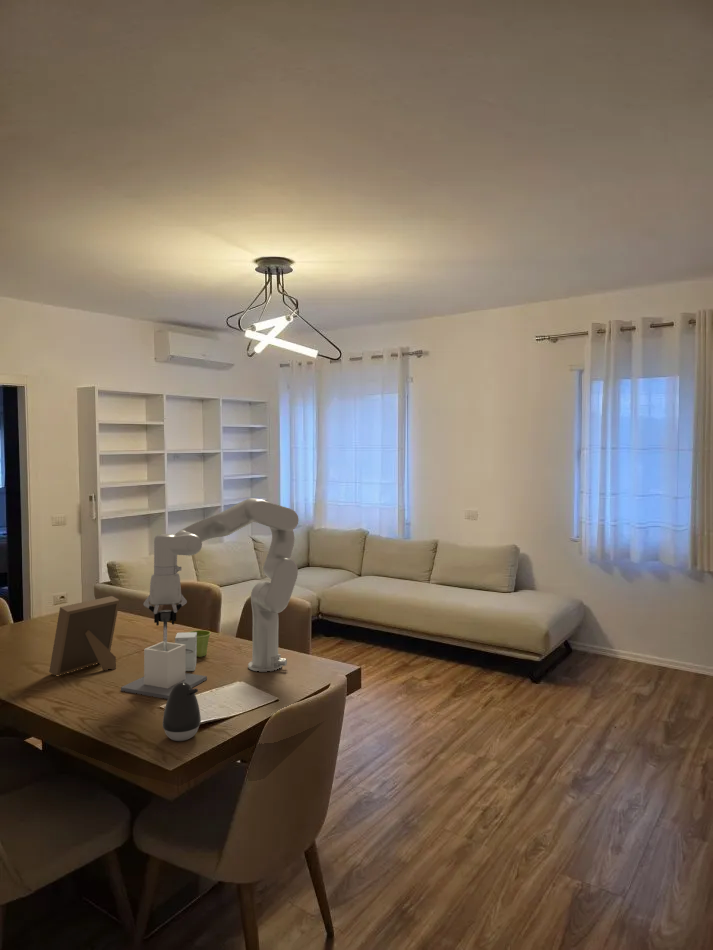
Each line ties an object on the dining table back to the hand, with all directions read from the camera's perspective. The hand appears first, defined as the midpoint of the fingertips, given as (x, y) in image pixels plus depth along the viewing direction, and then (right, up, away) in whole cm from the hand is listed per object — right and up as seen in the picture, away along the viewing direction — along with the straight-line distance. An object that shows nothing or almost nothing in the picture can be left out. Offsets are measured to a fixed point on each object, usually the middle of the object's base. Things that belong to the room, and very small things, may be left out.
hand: (165, 623), depth 214 cm
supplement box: (+2, -21, +18) cm, 28 cm away
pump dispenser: (+17, -23, -39) cm, 48 cm away
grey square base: (0, -21, +1) cm, 21 cm away
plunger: (0, -13, 0) cm, 13 cm away
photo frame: (-32, -21, +15) cm, 41 cm away
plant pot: (+3, -21, +34) cm, 40 cm away
